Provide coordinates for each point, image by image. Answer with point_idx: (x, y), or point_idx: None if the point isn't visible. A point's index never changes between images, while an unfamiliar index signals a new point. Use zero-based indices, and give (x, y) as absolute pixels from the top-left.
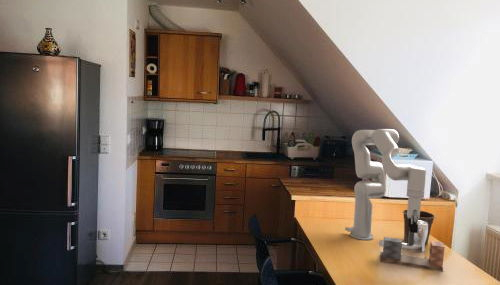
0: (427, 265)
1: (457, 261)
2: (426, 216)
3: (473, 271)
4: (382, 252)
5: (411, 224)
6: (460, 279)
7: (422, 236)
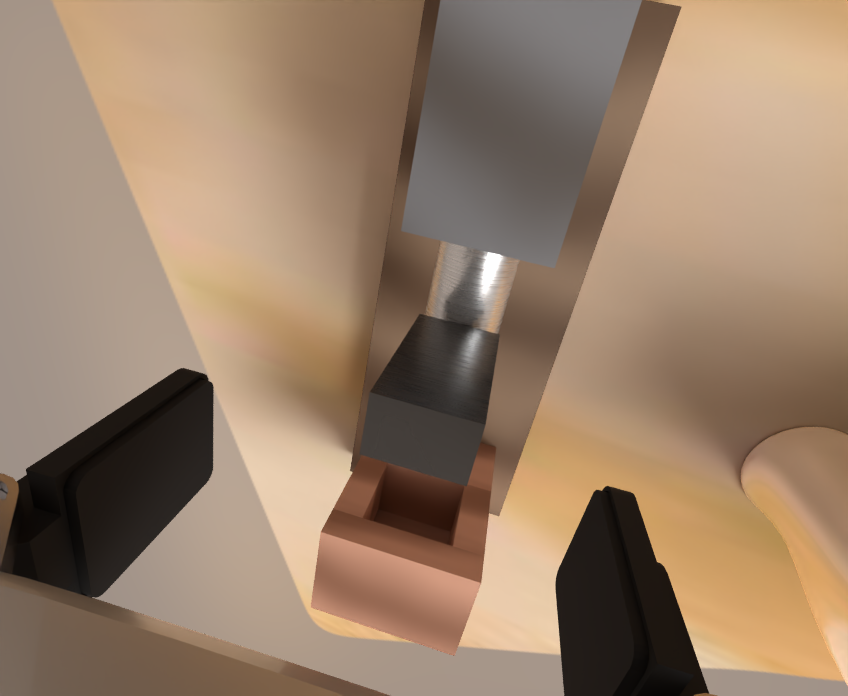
0: None
1: None
2: None
3: None
4: (651, 30)
5: (47, 476)
6: (271, 498)
7: (815, 598)
